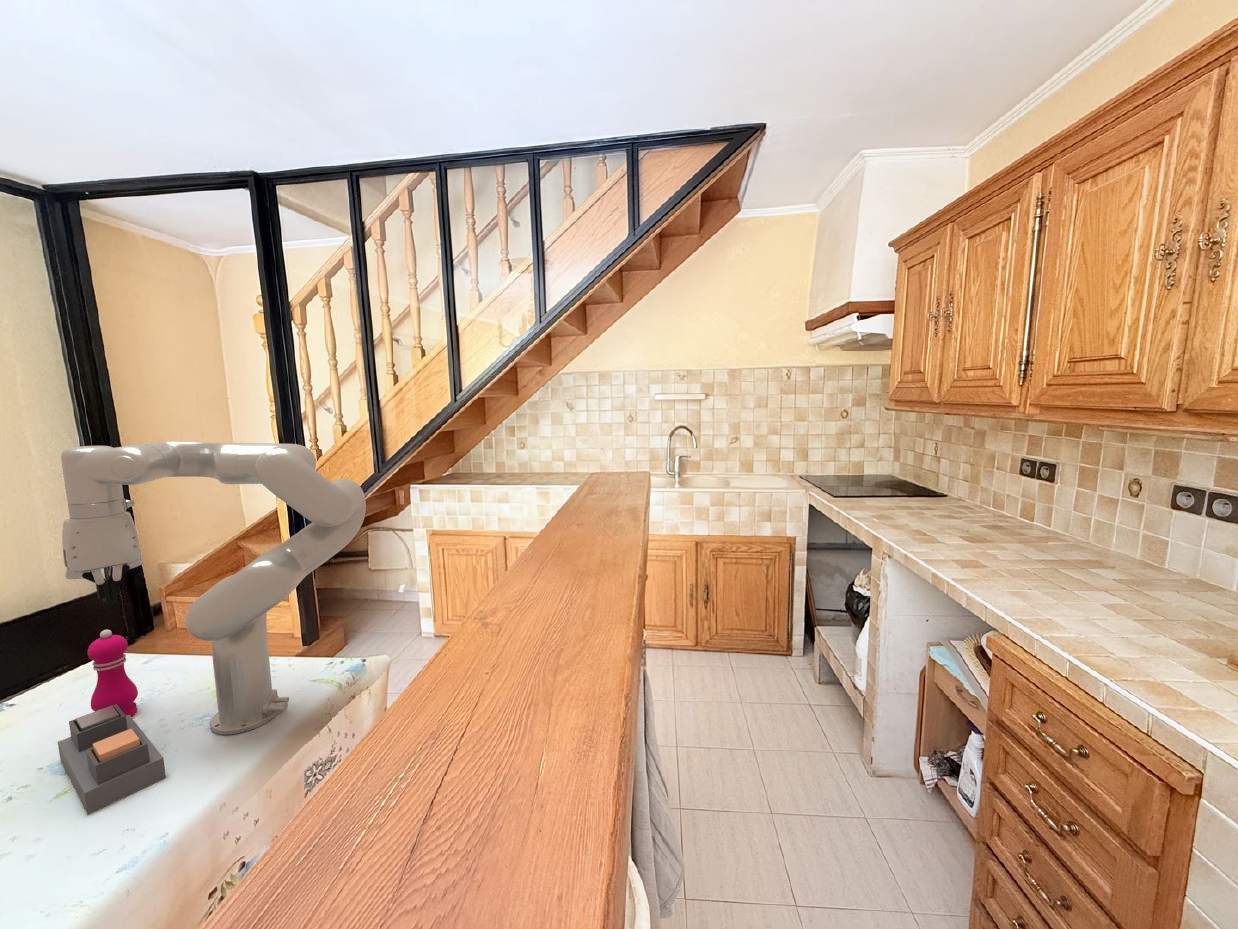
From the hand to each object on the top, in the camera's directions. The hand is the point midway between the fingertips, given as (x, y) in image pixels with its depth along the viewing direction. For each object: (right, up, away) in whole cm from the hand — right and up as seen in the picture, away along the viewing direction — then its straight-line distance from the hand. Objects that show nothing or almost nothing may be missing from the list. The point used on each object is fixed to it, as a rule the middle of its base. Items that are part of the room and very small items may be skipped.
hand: (109, 600), depth 99 cm
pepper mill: (-8, -28, +10) cm, 31 cm away
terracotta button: (+12, -25, -10) cm, 30 cm away
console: (+6, -30, -5) cm, 31 cm away
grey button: (0, -25, -2) cm, 25 cm away
